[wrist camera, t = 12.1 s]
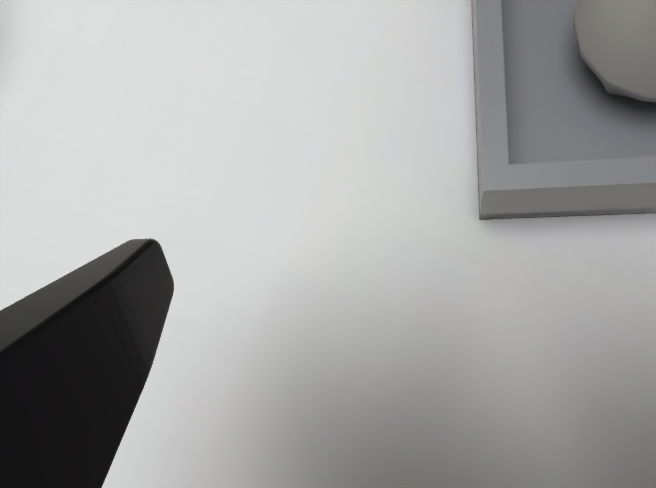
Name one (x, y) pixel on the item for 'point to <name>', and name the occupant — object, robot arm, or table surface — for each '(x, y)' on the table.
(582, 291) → the table surface
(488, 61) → the box
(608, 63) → the salt shaker
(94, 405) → the robot arm
